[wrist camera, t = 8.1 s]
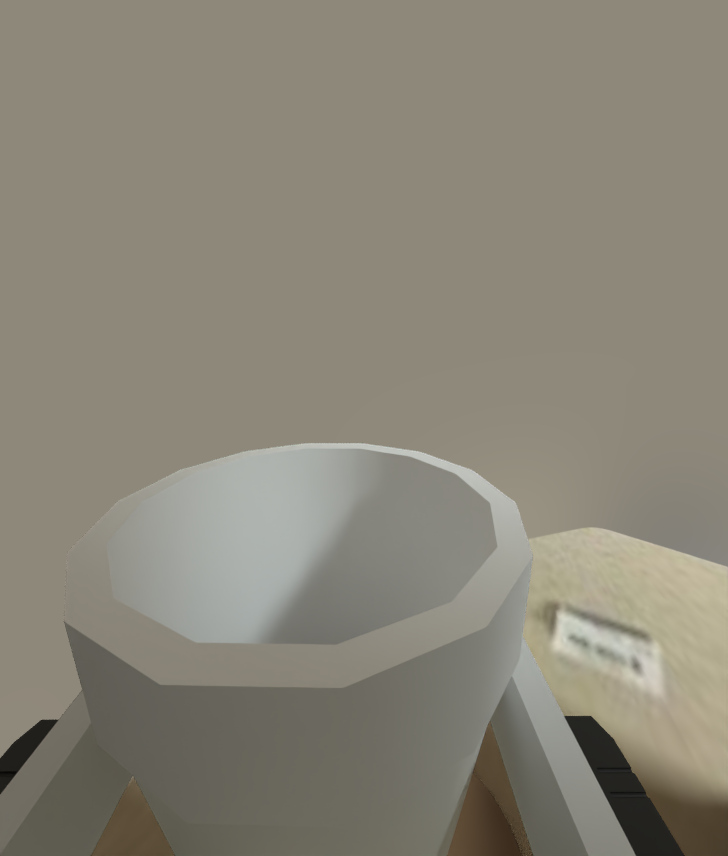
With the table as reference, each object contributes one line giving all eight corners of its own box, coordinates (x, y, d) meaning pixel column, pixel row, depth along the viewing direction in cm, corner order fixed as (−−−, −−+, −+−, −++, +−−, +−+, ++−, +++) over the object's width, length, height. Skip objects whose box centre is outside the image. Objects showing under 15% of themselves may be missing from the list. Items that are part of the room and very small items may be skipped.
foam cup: (488, 1313, 6) (614, 808, 3) (81, 1066, 9) (-106, 613, 5) (472, 744, 15) (499, 452, 12) (272, 693, 18) (248, 435, 14)
